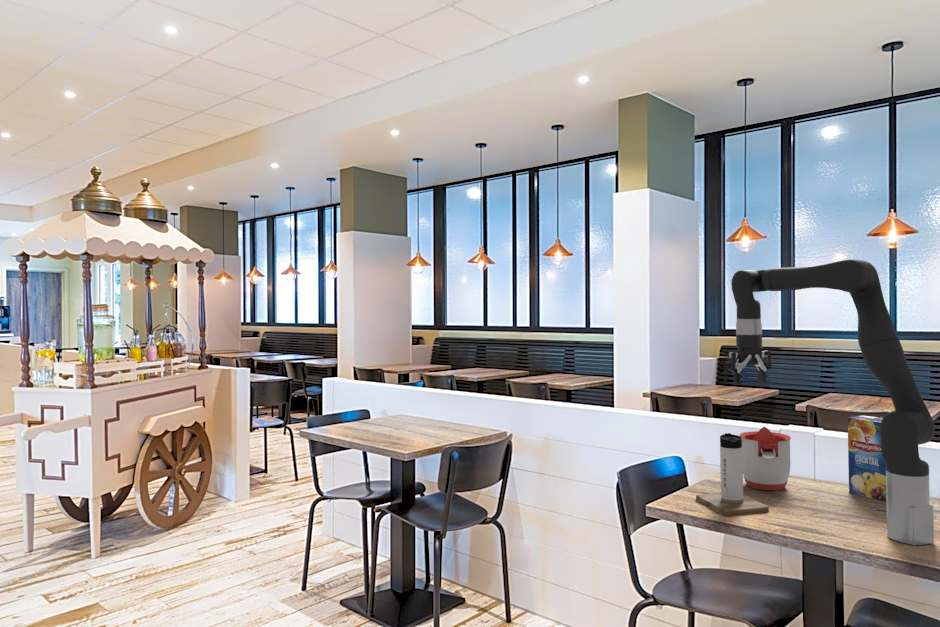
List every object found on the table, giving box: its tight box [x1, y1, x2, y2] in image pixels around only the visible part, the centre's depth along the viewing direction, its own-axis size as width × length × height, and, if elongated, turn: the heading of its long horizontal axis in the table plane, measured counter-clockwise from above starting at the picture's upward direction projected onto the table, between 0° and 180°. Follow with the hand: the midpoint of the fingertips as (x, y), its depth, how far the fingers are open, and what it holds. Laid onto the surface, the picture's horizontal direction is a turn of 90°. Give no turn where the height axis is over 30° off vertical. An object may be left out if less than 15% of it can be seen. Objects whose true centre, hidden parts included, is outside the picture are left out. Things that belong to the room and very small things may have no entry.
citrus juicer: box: [738, 426, 792, 491], centre depth 214 cm, size 16×17×20 cm
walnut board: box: [695, 492, 770, 517], centre depth 196 cm, size 16×14×2 cm
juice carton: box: [847, 414, 886, 503], centre depth 202 cm, size 12×8×24 cm, turn 26°
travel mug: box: [719, 432, 744, 504], centre depth 196 cm, size 6×7×20 cm
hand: (749, 384), depth 204 cm, fingers open, 8 cm apart
